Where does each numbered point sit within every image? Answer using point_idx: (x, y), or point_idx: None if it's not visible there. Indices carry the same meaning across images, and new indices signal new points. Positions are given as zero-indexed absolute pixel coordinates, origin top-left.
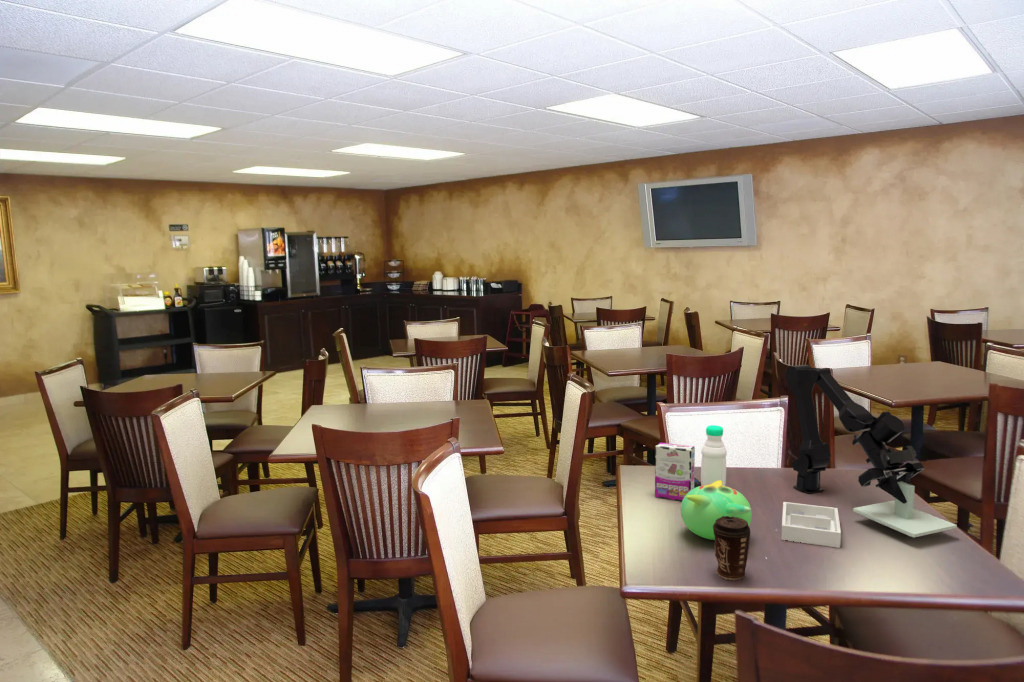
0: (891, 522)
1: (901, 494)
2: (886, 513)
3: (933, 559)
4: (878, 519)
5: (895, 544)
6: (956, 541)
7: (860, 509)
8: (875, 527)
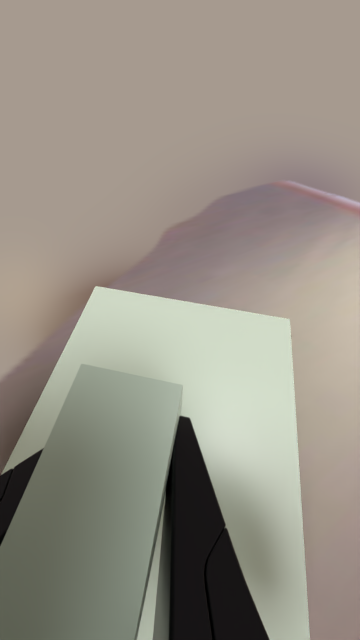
0: (275, 434)
1: (200, 468)
2: None
3: (276, 285)
4: (300, 510)
5: None
6: None
7: None
8: None
